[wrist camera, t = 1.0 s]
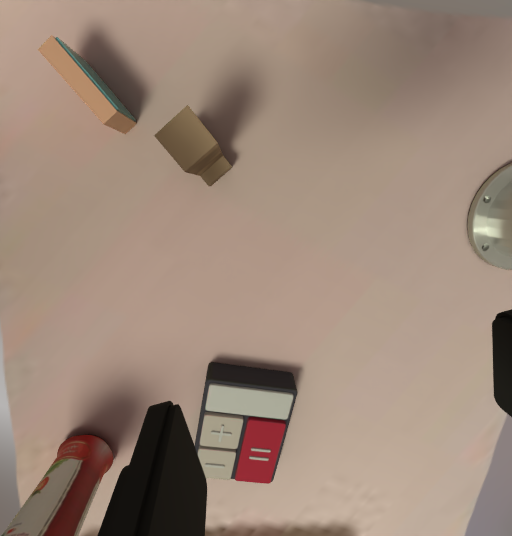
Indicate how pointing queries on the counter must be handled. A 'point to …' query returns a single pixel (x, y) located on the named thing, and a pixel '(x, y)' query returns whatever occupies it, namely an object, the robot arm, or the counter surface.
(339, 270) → the counter surface
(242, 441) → the calculator
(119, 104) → the tile
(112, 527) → the robot arm
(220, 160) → the tan stepped block
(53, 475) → the liquor
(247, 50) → the counter surface
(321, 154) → the counter surface
